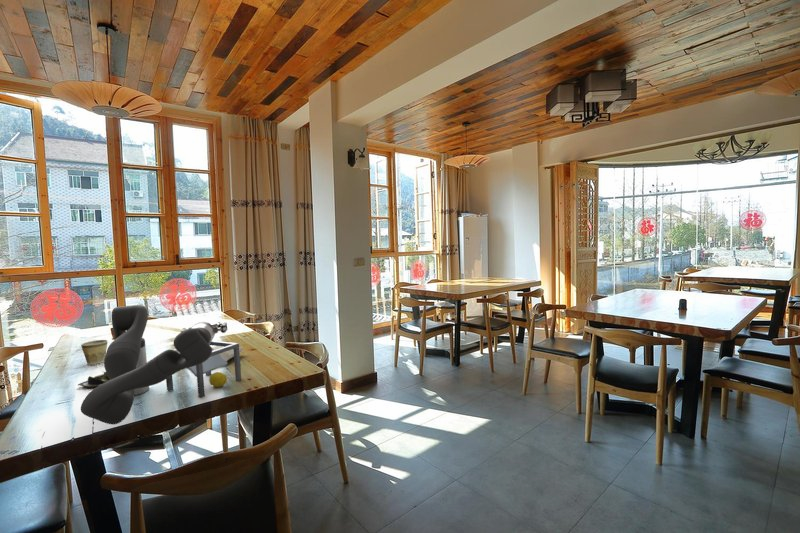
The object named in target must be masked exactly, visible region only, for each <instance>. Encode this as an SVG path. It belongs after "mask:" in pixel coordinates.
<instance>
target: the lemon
mask: <svg viewBox="0 0 800 533" xmlns="http://www.w3.org/2000/svg"><path fill="white" fill-rule="evenodd" d="M208 382H209V384H210V386H212V387H214V388H221V387H224V386H225V385H226V384H227V382H228V377H227V374H225V373H223V372H221V371H216V372H213V373H211V375H210V376H209V380H208Z"/></svg>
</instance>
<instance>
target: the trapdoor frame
mask: <svg viewBox="0 0 800 533" xmlns="http://www.w3.org/2000/svg"><path fill="white" fill-rule="evenodd" d="M209 345H210V346H214V347H215V346H223V348H220V349H217V350H214V351H212V354H211V356H210V357H212V356H214V355H217V354H220V353H223V352H226V351H229V350H232V349H234V356H233V359H234V361H233V362H234V373H235V374H234V375H235V381H241V380H242V371H241V370H242V368H241V367H242V366H241V358H240V356H241V355H240V354H241V352H239V346H240V343H239V342H238V343H237V342H229V341H218V340H212V341H211V343H210V344H209ZM173 350H175V351H176V350H177V349H176V348H175V349H173ZM196 372H197V377H196V384H197V393H198V394H197V395H198V398H203V397H205V396H206V392H205V380H204V374H203V364H202V363H201V364H198V365H196ZM209 375H210V376H211V375H212V371H210V372H207V373H205V376H206V377H210V376H209ZM173 380H174V379H173V375H172V376H170V377H168V378H167V379H165V382H166V384H165V385H166V391H167V390H168V391H167V392H171V391H170V390H172V391H174V381H173Z"/></svg>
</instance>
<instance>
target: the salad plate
mask: <svg viewBox="0 0 800 533" xmlns="http://www.w3.org/2000/svg"><path fill="white" fill-rule="evenodd" d="M107 381H110V380H109V377H108V375H107V373H106V371H103V373H102V374H99V375H95V376H91V375H89V376H88V378H87V380H86V381H82V382H80V383H78V384H77V386H80V387H81V386H82V387H83V388H85V389H88V390H90V389H91V390H93V389H95V388H96V387H98V386H99V385H101V384H103V383H105V382H107Z"/></svg>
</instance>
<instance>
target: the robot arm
mask: <svg viewBox="0 0 800 533" xmlns="http://www.w3.org/2000/svg"><path fill="white" fill-rule="evenodd" d="M148 315H149V312H148V310H147V307H145V306H144V305H141V304H134V305H121V306H116V307H113V308H112V310H111V325H112V331H113V338H114V340H113V341H112V342H111V343H110V344H109V346H107V349H106V356H105V359H104V362H103V365H104V366H103V367H104V369H105V372H106V373H107V375H108V377H109V380H110V381H107V382H105V383H103V384H101V385H99V386H98V387H96V388H95V389H91V391H90V392H89V393H88V394H87V395H86V396H85V398H84V399H83V401H82V403H81V406H80V412H81V413H82V414H83V415H84V416H86V417H88V418H91V419H94V420H96V421H99V422H101V423H105V424H106V425H107V424H108V425H118V424H120V423H122V422H123V421H124V420H125V419H126V418H127V417H128V416H129V413H130V411H131V409H132V408H133V404H134V398H135V396H137V395H140V394H143V393H145V392H147V391H149V390H150V386H155V385H158V384H160V383H162V382H163V381H166V379H167V378H168V377H170V376H172V377H173V375H175V374H177V373H178V372H180V371H182V370H185V369H188V367H192V366H195V365H198V364H201V363H203V362H205V361H206V360H207V359H208V358H209V357H210V356H211V354H212V348H213V347H212V345H209V344H210V343H211V341H213V339H214V337H215V335H216V334H218V333H219V332H220V333H222V334H225V333H226V332H227V331H228V323H227V322H221V321H218V322H217V323H210V322H206V321H200V322H197V323H195V324H194V325H191V326H189V327H188V328H186V327H183V328H182V329H181V330H180V332H179V333H178V334H177V335H176V336H175V337H174V338H173V339H174V340H173V346H174V348H175V349H177V351H179V353H178V352H177V351H175V350H174V349H170V348H169V349H166V350H164V351H163V352H161V353H159V354H158V355H156V356H154V357H153V358H151V359H150V360H149V361H147V348H146V341H145V340H146V339H145V338H144V337H143V336H144V333H145V330H146V327H147V323H148V320H149V319H148V318H149V317H148ZM211 347H212V348H211Z"/></svg>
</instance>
